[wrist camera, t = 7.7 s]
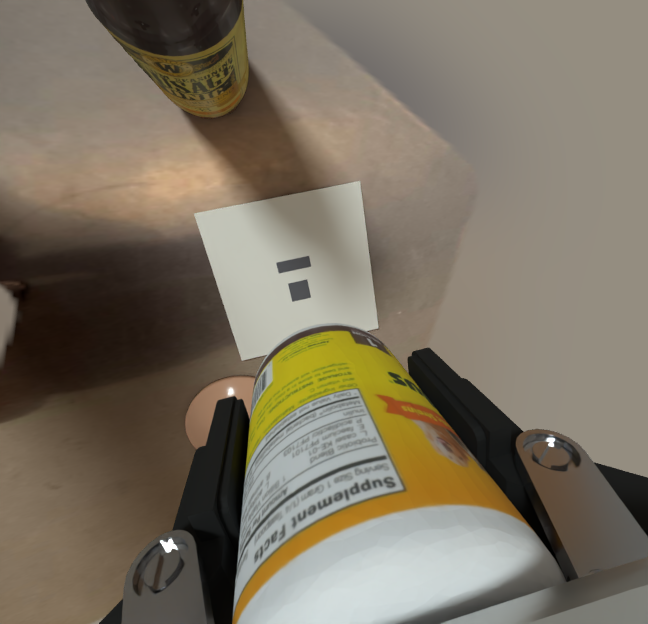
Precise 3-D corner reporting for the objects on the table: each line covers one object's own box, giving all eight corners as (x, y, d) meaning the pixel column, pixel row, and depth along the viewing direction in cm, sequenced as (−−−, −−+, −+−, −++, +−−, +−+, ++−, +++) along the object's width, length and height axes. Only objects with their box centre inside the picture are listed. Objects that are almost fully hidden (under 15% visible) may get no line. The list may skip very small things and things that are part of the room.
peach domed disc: (170, 390, 30) (168, 394, 30) (280, 364, 31) (280, 367, 31) (206, 471, 34) (205, 475, 34) (302, 445, 35) (303, 449, 35)
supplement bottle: (409, 404, 13) (762, 929, 4) (290, 458, 13) (344, 1130, 4) (367, 291, 11) (951, 851, 2) (225, 354, 11) (-44, 1325, 2)
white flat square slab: (194, 213, 25) (193, 213, 25) (359, 181, 26) (360, 180, 26) (242, 359, 30) (241, 360, 30) (378, 327, 31) (378, 328, 31)
